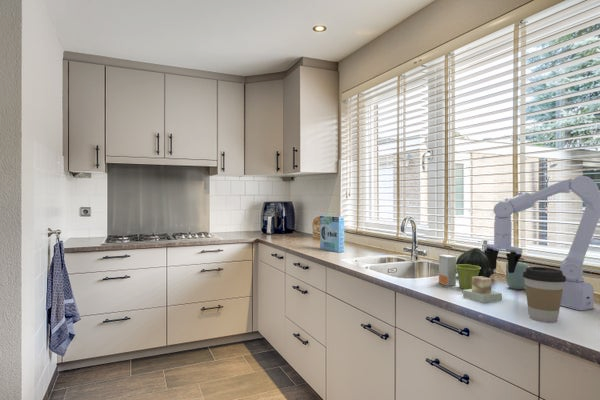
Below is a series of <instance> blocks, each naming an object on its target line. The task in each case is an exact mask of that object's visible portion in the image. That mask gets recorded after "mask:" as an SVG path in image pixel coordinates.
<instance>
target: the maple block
mask: <svg viewBox="0 0 600 400" xmlns="http://www.w3.org/2000/svg"><path fill="white" fill-rule="evenodd" d="M492 282H493V281H492V278H491V277H489V278H487V277H483V276H478V277H472V291H475V292H478V293H482V294H483V293H491V291H492Z"/></svg>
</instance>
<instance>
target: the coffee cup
mask: <svg viewBox="0 0 600 400" xmlns="http://www.w3.org/2000/svg"><path fill="white" fill-rule="evenodd" d="M523 277H524V279H525V288H524V289H525V294H526V302H527V310H528V315H529V318H530V319H531V320H534V321H536V322H541V323H549V324H550V323H551V324H552V323H557V321H558V318H559V316H560V315H559V313H560V309H561V305H560V303H561V298H562V292H563V286H564V282H565V281H566V277H565V276H564V275H563V273H562V271H561V270H560V269H558V268H557V269H556V268H554V267H553V268H552V267H545V266H528V268H526V271H525V272H523Z"/></svg>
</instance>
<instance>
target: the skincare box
mask: <svg viewBox="0 0 600 400" xmlns="http://www.w3.org/2000/svg"><path fill="white" fill-rule="evenodd" d="M438 256H439V257H438V283H440V284H441V285H445V286H447V287H451V286H456V284H457V268H456V261H457V256H455V255H449V254H439V255H438Z"/></svg>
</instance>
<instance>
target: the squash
mask: <svg viewBox="0 0 600 400" xmlns="http://www.w3.org/2000/svg"><path fill="white" fill-rule="evenodd" d="M459 264H467V265H475V266H479V267H481V269H480V271H479V273H478V276H483V277H487V278H491V276H492V274H493V272H494V271H493V270H494V269H491V268H490V264H489V260H488V258H487V256H486V254H485V253H484V251H483V250H482V249H480V248H477V247H475V248H474V247H473V248H471V249H468V250H467V251H465V252H463V253H461V254H460V255H459V256H458V257H457V258H456V265H459ZM456 269H457V267H456Z"/></svg>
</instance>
